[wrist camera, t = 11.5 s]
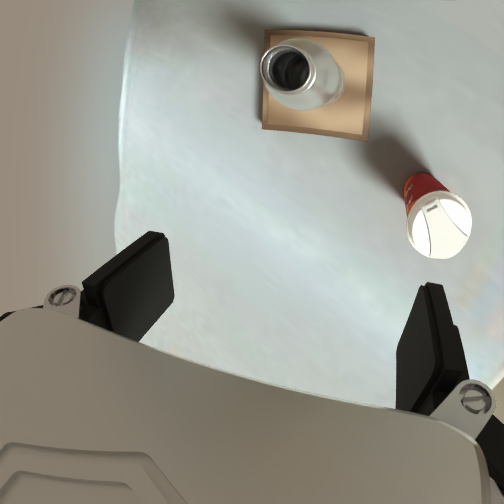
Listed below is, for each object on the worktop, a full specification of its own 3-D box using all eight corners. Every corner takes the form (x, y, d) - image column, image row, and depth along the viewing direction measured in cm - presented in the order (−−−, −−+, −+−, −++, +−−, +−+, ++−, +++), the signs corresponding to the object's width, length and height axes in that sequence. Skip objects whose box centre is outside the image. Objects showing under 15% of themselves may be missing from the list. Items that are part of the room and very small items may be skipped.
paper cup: (386, 180, 42) (395, 215, 30) (431, 155, 38) (458, 181, 26) (411, 226, 44) (425, 275, 32) (454, 203, 40) (484, 245, 28)
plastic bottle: (319, 46, 34) (281, 6, 17) (357, 84, 35) (354, 72, 18) (284, 79, 37) (220, 69, 21) (321, 116, 38) (286, 133, 21)
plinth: (271, 33, 37) (264, 29, 35) (373, 41, 34) (374, 37, 31) (267, 126, 44) (261, 129, 41) (367, 138, 40) (367, 142, 38)
